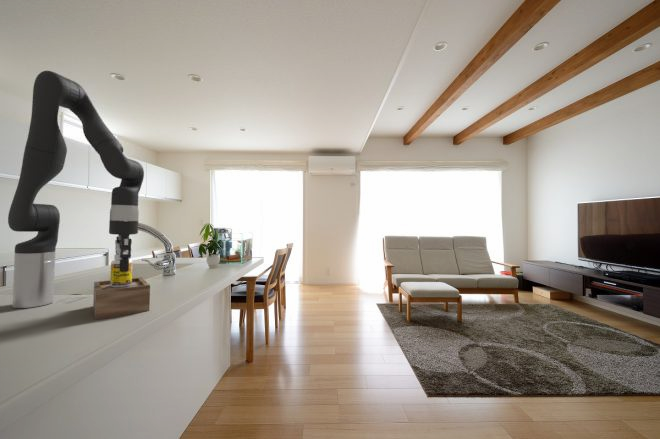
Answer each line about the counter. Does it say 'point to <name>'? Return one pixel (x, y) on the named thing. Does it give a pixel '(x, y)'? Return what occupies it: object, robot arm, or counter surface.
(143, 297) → the wooden box
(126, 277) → the supplement bottle
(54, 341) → the counter surface
